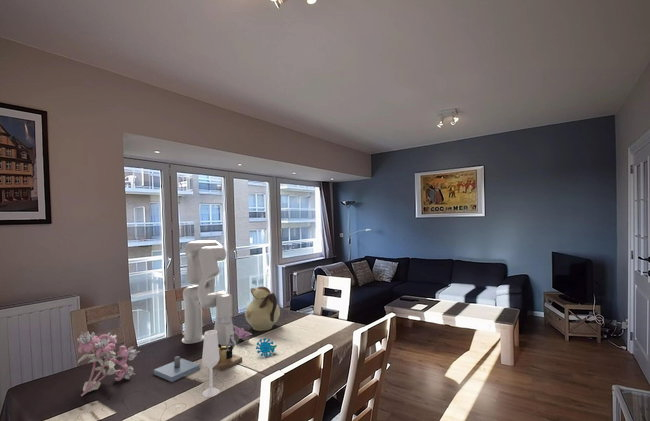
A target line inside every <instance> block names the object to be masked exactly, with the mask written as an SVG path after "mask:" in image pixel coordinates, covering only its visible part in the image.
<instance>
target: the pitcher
mask: <svg viewBox="0 0 650 421" xmlns="http://www.w3.org/2000/svg"><path fill="white" fill-rule="evenodd" d="M250 293H251V295H252V296H253V299H252V300H251V302H250V303H249V304H248V305H247V307H246V309H245V311H244V318H245V320H246V321H247V323H248V324H249V325H250V326H251V327H252V329H253V331H257V332H259V331H260V332H262V331H264V332H265V331H269V330H271V329H272V328H273V326H274V325H275V324H276V323H277V321H278V320H279V318H280V317H281V316H280V315H281V308H280V306H279V305H278V299H277V295H276V294H275V293H274V292H272V291H271V290H270V289H269V288H268V287H266V286H258V287H255V288H252V287H251V288H250Z"/></svg>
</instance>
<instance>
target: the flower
mask: <svg viewBox="0 0 650 421" xmlns="http://www.w3.org/2000/svg"><path fill="white" fill-rule="evenodd" d="M95 334H96V333H95V332H93V331H92V332H91V334H90V332H89V330H87V332H84V333H83V331H81V334H79V337H78V338H77V342H78V343H79V346H78V348H77V351H78V353H80V354H82V353H83V352H85V353H86V354H83V355H82V356H81V357H80V358H79V359H78V360H77V364H79V363H80V362H82V361H84V360H85V359H87V358H88V359H90V360H88V362H87V364H90V363H93V366H92V369H91V372H90V377H89V379H88V381H85V382H84V384H83V387H82V393H81V394H80V396H81V397H83V396H84V395H86V394H87V393H89V392H92V391H96V390H98V389H99V388H100V386H101V384H102V383H101V382H100V381H102V380H103V379H104V378H105V377H107V376H111V375H114V374H115V375H116V376H117V377H114V380H115V381H121V380H122V379H123V378H124V379H125V380H130V378H131V376H133V375H136V373H134V371H135V368H133V366H130V365H128V364H127V361H133V360H135V358H136V357H138V355H137V353H140V352H141V350H139V351H138V350H137V349H136V348H134V347H135V345H134V346H133V345H132V346H129V347H128V348H127V346H125V345H120V346H119V347H118V349H119V350H118V351H117V352H115V351H114V350H115V349H116V344H117V342H118V339H117V334H114V335H112V334H111V332H108V333H106V334H101V335H99V336H97V335H95ZM95 349H96V351H95ZM90 352H92V353H91V354H90ZM88 353H89V354H88ZM101 357H103V358H104V360H103V359H102V358H101ZM117 358H122V359H121V360H119V359H117ZM97 362H98V363H99V364H100V366H97V367H96V365H97ZM116 365H118V366H120V368H119V369H115V366H116ZM105 367H107V368H108V369H106V368H105ZM121 368H122V369H121ZM96 371H99V372H98V373H97V374H96V376H94V373H95V372H96ZM101 373H102V374H103V376H101V377H100V378H99V376H100V375H101ZM93 376H94V378H93ZM98 378H99V379H98ZM97 379H98V380H97Z"/></svg>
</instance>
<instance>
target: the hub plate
mask: <svg viewBox="0 0 650 421" xmlns="http://www.w3.org/2000/svg"><path fill="white" fill-rule="evenodd" d="M173 360H174V361H172V362H170V363H167V364H164V365H162V366H159V367H157V368H154V369H153V375H155V376H156V377H157V376H158V377H160V378H162V379H164V380H167V381H168V382H171V383H172V382H175V381H177V380H179V379H182V378H183V377H185V376H188V375H191V374H192V373H195V372H196V371H199V370H200V369H201V364H199V363H196V362H193V361H190V360H188V359H184V358H181V356H180V355H179V356H178V355H177V356H175V357H174V358H173Z"/></svg>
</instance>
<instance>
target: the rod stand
mask: <svg viewBox="0 0 650 421" xmlns="http://www.w3.org/2000/svg"><path fill="white" fill-rule="evenodd" d="M242 362H243V356H240V355H236V354H233V353H232V358H231V360H229V361H226V362H218V363H217V364H216V365H215V366H214V367H213V368H212V369H216V370H219V371H222V372H224V371H226V370H228V369H230V368H232V367H234V366H235V365H238V364H240V363H242Z"/></svg>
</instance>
